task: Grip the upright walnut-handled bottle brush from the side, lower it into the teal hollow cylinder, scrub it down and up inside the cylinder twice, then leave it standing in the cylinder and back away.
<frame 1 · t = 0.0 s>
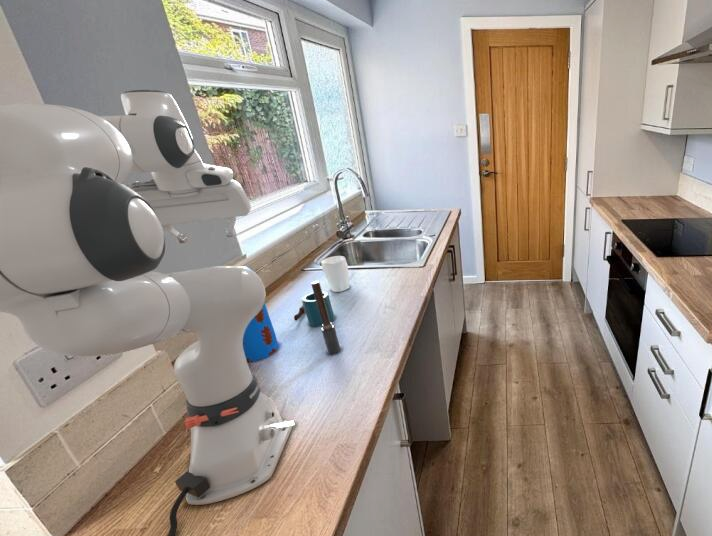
hand: (207, 239, 90), 39 cm above the table, tool pointing down, fingers open, 8 cm apart
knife: (304, 312, 141), on the table
cup: (340, 288, 158), on the table
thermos: (258, 351, 119), on the table
teal hollow cylinder: (321, 320, 135), on the table
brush: (334, 351, 117), on the table
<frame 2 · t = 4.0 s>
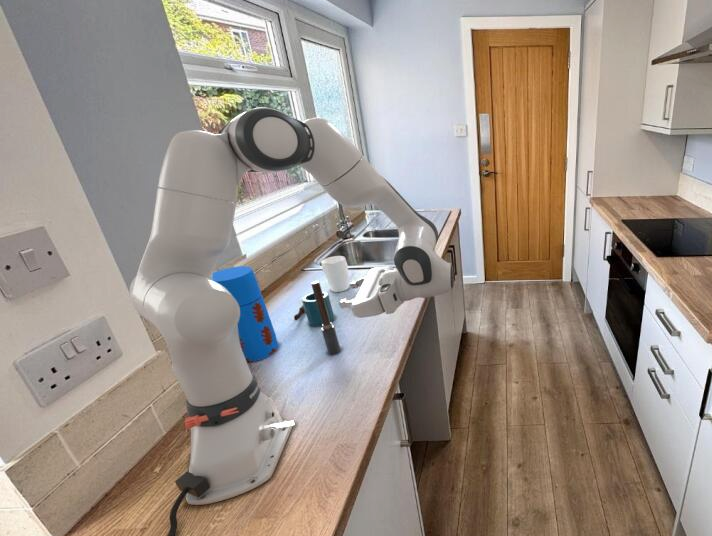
hand: (345, 294, 109), 18 cm above the table, tool horizontal, fingers open, 8 cm apart
nothing on the table moved.
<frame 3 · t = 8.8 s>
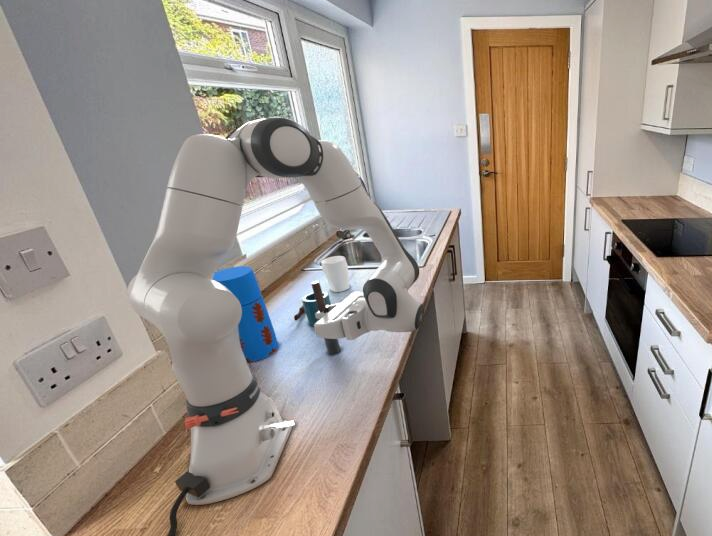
hand: (320, 311, 112), 13 cm above the table, tool horizontal, fingers closed on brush, 2 cm apart
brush: (334, 351, 117), on the table, touching gripper
everything else where it was.
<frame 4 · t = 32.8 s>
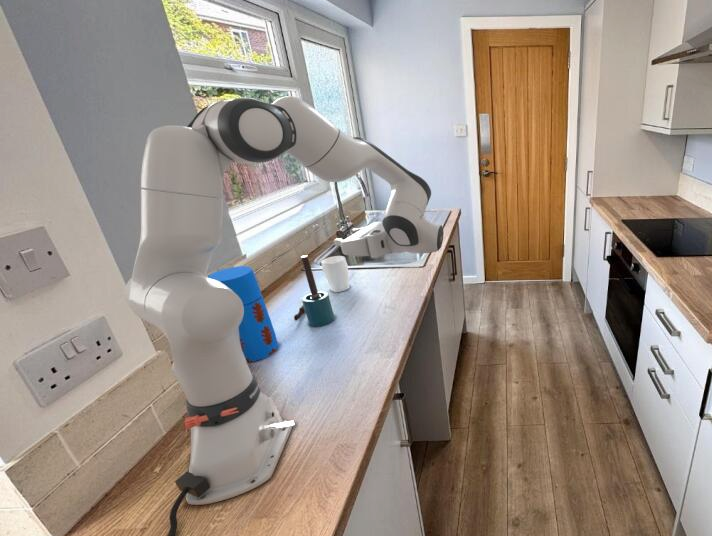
hand: (344, 236, 117), 30 cm above the table, tool horizontal, fingers open, 8 cm apart
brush: (321, 318, 134), point 1 cm above the table, touching teal hollow cylinder
everything else where it was.
at the end: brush 0.1 cm off-centre in the teal hollow cylinder, point 0.8 cm above the teal hollow cylinder's base; the gripper is holding nothing; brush moved 22.4 cm from its start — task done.
